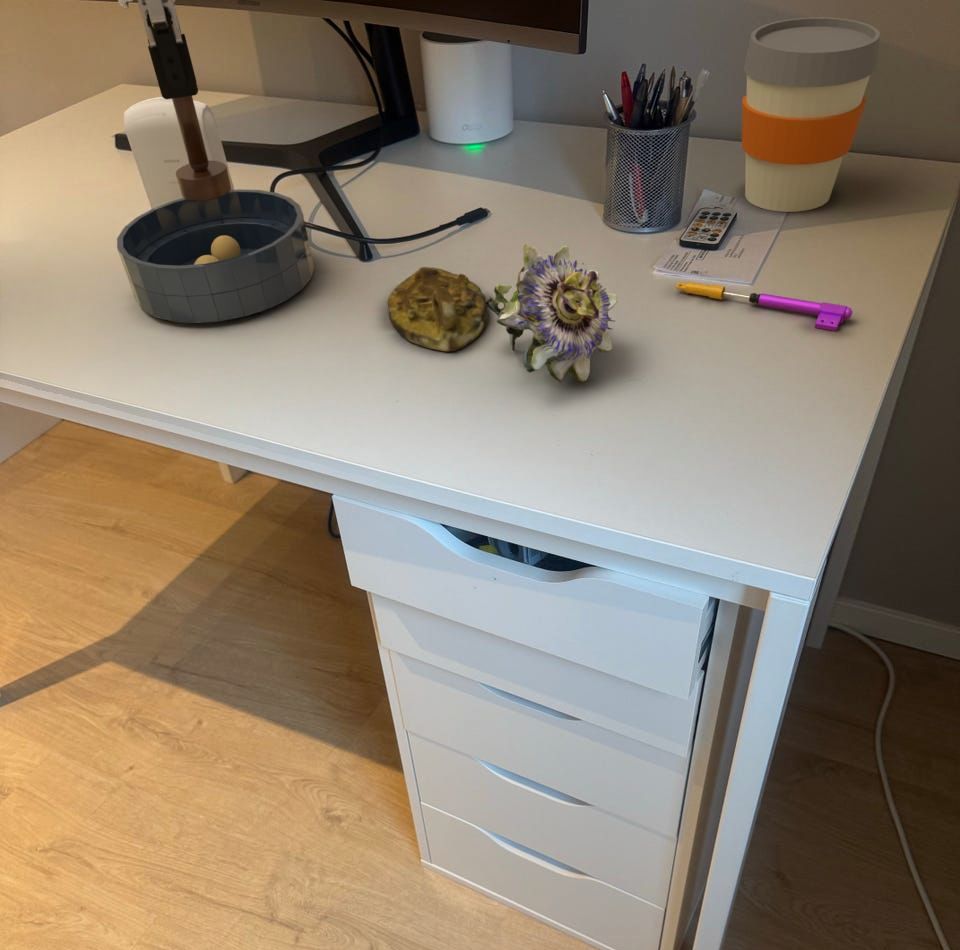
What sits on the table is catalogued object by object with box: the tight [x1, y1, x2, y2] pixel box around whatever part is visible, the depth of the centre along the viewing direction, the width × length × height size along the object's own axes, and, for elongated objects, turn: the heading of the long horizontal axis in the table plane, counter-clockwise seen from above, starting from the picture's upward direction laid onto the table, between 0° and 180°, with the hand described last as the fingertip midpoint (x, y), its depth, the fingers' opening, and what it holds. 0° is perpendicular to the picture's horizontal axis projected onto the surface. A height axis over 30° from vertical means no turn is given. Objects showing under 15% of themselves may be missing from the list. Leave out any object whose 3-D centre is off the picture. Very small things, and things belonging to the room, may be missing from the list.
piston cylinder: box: [675, 281, 854, 332], centre depth 82 cm, size 3×1×16 cm
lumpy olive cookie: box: [387, 266, 489, 352], centre depth 84 cm, size 9×5×15 cm
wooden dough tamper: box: [172, 27, 231, 201], centre depth 82 cm, size 5×5×14 cm
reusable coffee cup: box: [741, 16, 881, 213], centre depth 93 cm, size 12×13×15 cm
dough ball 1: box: [194, 255, 219, 265], centre depth 91 cm, size 3×3×3 cm
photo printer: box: [123, 96, 235, 209], centre depth 102 cm, size 10×4×12 cm, turn 81°
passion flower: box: [486, 244, 618, 384], centre depth 76 cm, size 11×11×12 cm
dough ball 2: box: [211, 235, 241, 261], centre depth 94 cm, size 3×3×3 cm
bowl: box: [116, 188, 315, 324], centre depth 91 cm, size 18×18×6 cm
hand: (179, 90), depth 81 cm, fingers closed on wooden dough tamper
